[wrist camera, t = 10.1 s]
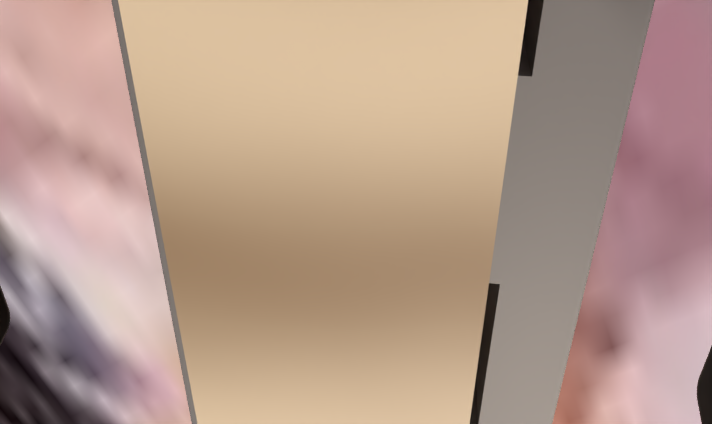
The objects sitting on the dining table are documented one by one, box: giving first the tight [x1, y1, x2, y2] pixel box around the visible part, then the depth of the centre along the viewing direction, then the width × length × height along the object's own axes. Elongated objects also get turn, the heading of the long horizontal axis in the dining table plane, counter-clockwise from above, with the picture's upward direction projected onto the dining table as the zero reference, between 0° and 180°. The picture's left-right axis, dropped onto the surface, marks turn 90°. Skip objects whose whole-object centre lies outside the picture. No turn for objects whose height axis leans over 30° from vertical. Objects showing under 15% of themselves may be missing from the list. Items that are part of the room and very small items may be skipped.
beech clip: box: [118, 0, 528, 424], centre depth 11 cm, size 12×4×6 cm, turn 0°
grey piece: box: [112, 0, 655, 424], centre depth 13 cm, size 18×8×3 cm, turn 0°
